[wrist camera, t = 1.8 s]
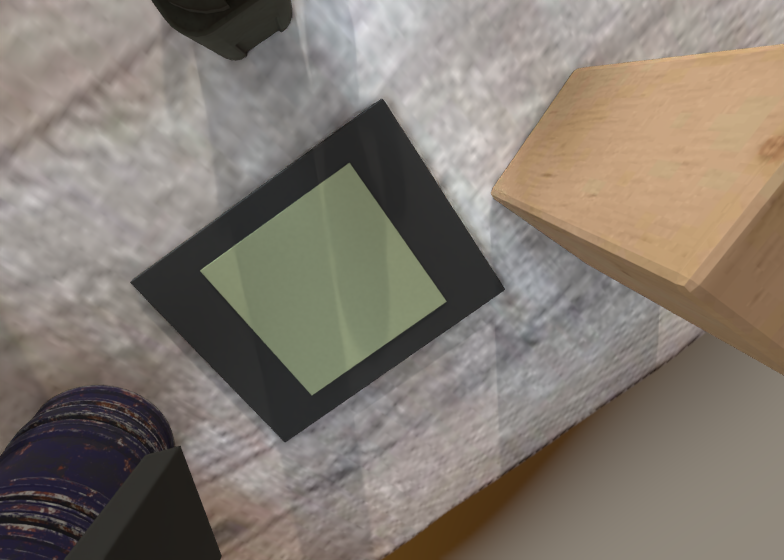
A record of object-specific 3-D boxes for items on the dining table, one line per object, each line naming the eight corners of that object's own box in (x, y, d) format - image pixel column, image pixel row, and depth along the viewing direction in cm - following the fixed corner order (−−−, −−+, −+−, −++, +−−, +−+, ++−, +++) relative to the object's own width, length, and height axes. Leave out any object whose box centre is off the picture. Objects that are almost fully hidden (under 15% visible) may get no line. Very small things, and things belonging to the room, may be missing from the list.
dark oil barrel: (121, 359, 36) (10, 521, 22) (202, 460, 40) (150, 656, 26) (-7, 427, 36) (-200, 632, 22) (85, 522, 40) (-31, 751, 26)
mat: (131, 280, 35) (129, 283, 34) (381, 98, 34) (382, 98, 33) (285, 439, 40) (284, 443, 40) (502, 287, 39) (505, 290, 39)
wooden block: (485, 193, 37) (680, 290, 18) (574, 65, 35) (892, 24, 16) (587, 265, 40) (844, 411, 21) (673, 150, 38) (1037, 198, 19)
